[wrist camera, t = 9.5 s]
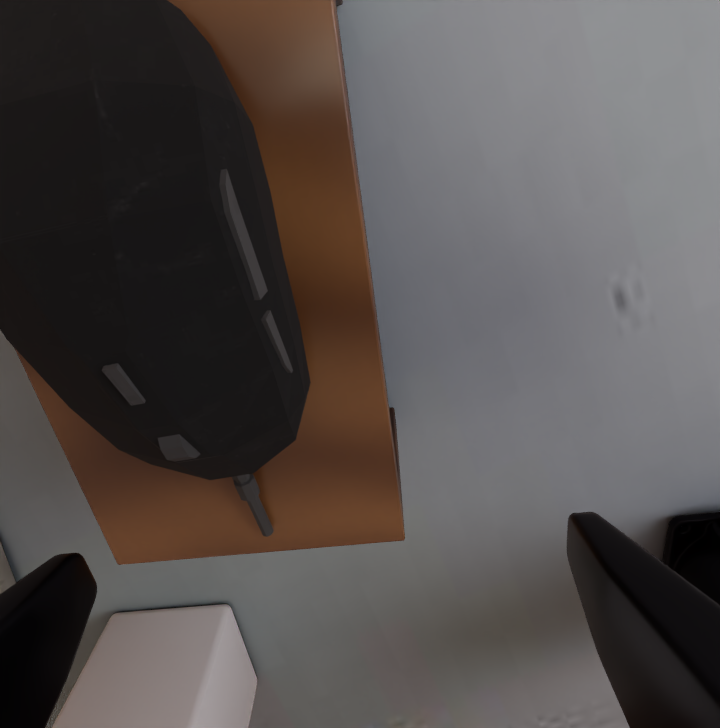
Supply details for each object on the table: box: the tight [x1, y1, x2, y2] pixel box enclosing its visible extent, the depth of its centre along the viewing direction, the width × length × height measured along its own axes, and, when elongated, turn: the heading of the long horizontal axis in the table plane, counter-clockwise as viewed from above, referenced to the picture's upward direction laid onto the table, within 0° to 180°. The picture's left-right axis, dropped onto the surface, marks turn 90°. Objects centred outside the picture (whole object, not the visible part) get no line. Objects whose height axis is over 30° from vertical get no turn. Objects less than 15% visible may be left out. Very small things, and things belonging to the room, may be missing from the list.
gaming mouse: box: [0, 0, 311, 537], centre depth 11 cm, size 6×15×4 cm, turn 12°
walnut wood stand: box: [15, 0, 405, 565], centre depth 16 cm, size 17×10×7 cm, turn 8°
